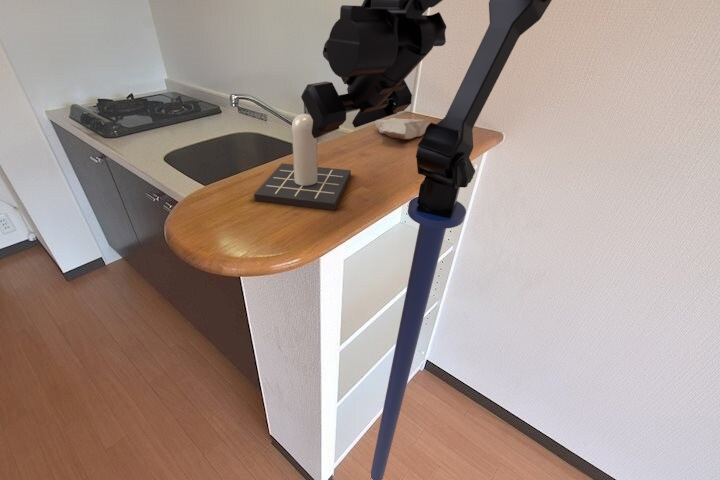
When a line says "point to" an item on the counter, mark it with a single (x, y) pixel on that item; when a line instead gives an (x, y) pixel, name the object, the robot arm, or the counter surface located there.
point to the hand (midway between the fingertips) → (334, 130)
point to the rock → (402, 127)
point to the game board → (304, 188)
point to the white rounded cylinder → (304, 151)
